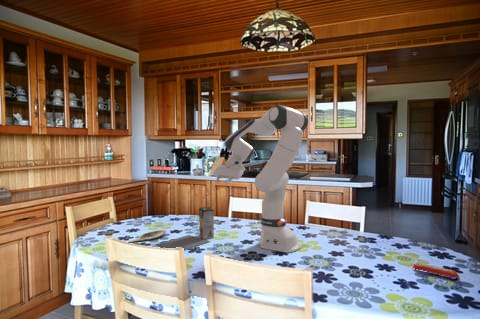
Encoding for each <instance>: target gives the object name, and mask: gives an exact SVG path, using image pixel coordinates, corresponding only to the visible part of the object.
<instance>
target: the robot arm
mask: <svg viewBox="0 0 480 319" xmlns="http://www.w3.org/2000/svg"><path fill="white" fill-rule="evenodd" d="M308 125H309V118H308V116H307V115H306V114H305V113H303V112H301V111H298V110H296V109H294V108H292V107H290V106H285V105H282V104H277V105H274V106H273V107H271V108H270V109H269V110H267V111H266V112H265V113H264V114H263V115H262V116H261V117H260V118H257V119H251V120H249V121H248V122H246V123H244V125H242V126H240V128H238V129H237V130H235V132H232V134H229V135H228V136H227V137H226V139H225V141H224V147H225V148H226V149H227V150H229V151H231V152H232V153H231V155H230V156H229V157H228V158H227V160H226V161H225V163H224V164H221V165H218V166H217V167H216V169H215V170H214V171H213V172H212V174H213V176H214V177H215V178H216V179H215V183H217V184H219V183H220V182H221V179H226V180H225V181H224V184H225V185H229V183H230V182H232V181H233V180H237V181H238V180H240V179H241V178H242V177H243V176H242V175H244V172H245V171H246V168H245V166H244V165H243V162H249V161H250V160H251V159H252V157H253V155H254V153H255V149H254V147H253V146H252V145H250V143H248V142H246V141H245V140H244V139H242V137H243V136H244V135H246V134H247V133H252V134H255V135H258V136H261V137H270V136H272V135H274V134H275V132H277V131H278V130H280V132H281V135H280V137H279V139H278V141H277V143H276V146H275V148H274V150H273V152H272V154H271V156H270V158H269V160H268V161H267V162H266V164H265V165H264V166H263V168H262V170H261V171H260V172H259V173H258V174H257V175H256V177H255V178H254V186H255V188H256V189H257V190H258V191H259V192H262V193H264V197H263V199H262V201H261V217H260V224H261V229H260V230H261V231H260V238H259V241H258V245H260V246H259V248H261V249H264V250H270V251H276V252H279V253H280V252H282V253H289V254H290V253H293V252H296V251H298V250H300V249H302V247H303V246H302V244H301V243H299V242H298V237H297V235H296V233H295V232H294V231H293V230H292V229H291V228H289V227H288V225H287V222H288V221H289V220H288V219H285V217H284V200H285V194H286V188H287V185H288V183H289V180H290V177H289V174H288V173H287V171H288V170H289V169H290V167H292V166H293V163H294V160H295V159H296V156H297V154H298V153H299V150H300V147H301V145H302V142H303V137H304V131H305V130H306V129H307V127H308Z"/></svg>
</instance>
